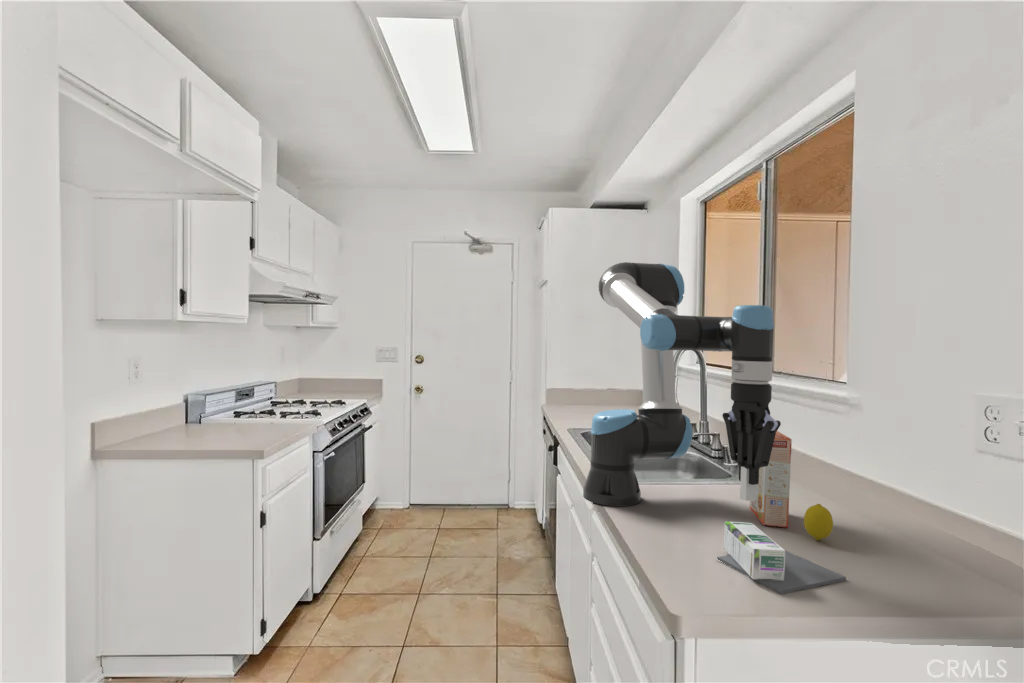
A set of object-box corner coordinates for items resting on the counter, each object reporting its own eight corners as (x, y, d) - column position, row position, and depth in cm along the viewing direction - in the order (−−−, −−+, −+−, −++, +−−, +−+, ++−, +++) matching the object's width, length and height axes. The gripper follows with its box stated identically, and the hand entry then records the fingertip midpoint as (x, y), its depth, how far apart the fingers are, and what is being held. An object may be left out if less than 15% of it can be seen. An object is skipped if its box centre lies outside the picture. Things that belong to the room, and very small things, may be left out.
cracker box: (790, 528, 127) (793, 438, 127) (762, 526, 128) (764, 436, 128) (774, 510, 141) (776, 428, 141) (748, 508, 142) (751, 427, 142)
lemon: (802, 534, 124) (804, 498, 124) (831, 538, 121) (832, 502, 121) (803, 542, 119) (804, 505, 119) (833, 547, 116) (834, 509, 116)
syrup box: (752, 522, 112) (786, 548, 97) (751, 551, 112) (785, 582, 97) (724, 520, 112) (753, 547, 98) (723, 550, 112) (752, 580, 98)
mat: (717, 560, 108) (717, 557, 108) (777, 549, 114) (777, 546, 114) (781, 594, 94) (781, 590, 94) (846, 580, 100) (846, 576, 100)
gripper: (713, 379, 116) (710, 492, 116) (763, 385, 104) (759, 510, 104) (740, 379, 119) (737, 489, 119) (792, 384, 107) (789, 506, 107)
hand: (748, 499), depth 111 cm, fingers closed
